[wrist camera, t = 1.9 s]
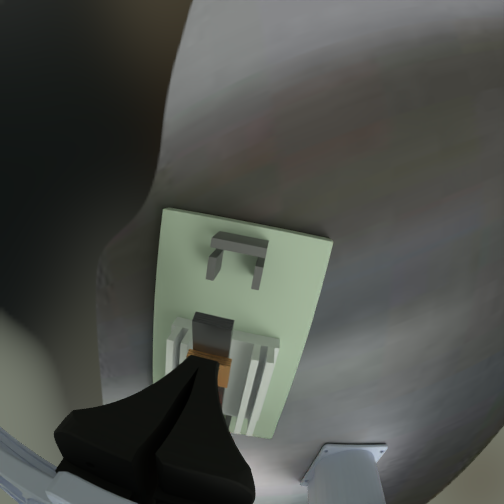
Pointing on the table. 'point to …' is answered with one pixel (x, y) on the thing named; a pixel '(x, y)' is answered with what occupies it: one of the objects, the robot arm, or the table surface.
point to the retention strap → (213, 344)
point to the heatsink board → (239, 305)
